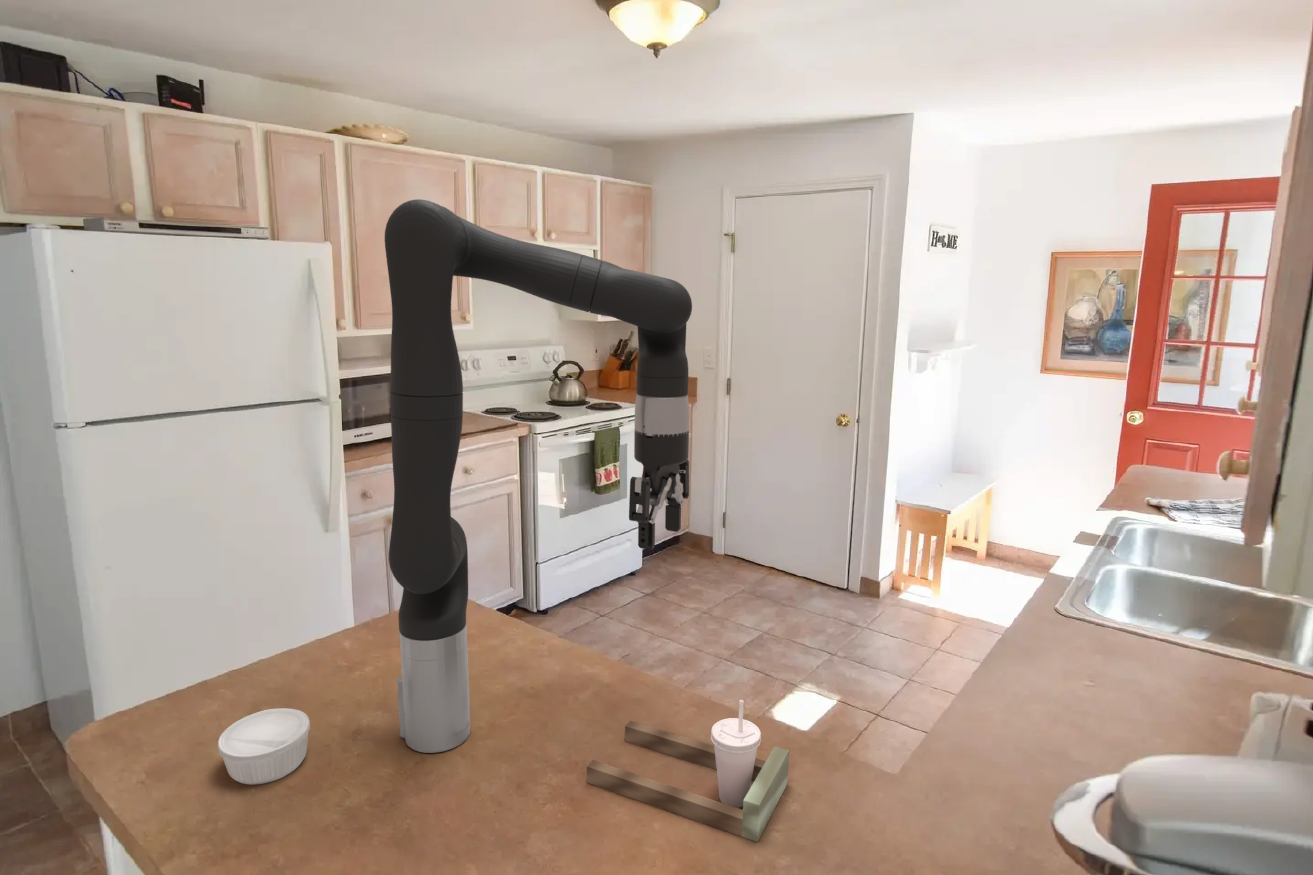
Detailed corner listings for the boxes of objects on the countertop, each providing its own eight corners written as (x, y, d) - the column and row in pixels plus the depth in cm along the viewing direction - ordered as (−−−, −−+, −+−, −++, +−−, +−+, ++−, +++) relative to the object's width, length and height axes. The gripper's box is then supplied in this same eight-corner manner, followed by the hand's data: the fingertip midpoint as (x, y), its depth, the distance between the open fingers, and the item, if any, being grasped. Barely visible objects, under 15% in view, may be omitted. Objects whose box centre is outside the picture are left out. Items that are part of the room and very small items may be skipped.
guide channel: (586, 782, 102) (586, 748, 101) (630, 735, 112) (630, 704, 111) (757, 841, 91) (759, 805, 90) (787, 783, 102) (789, 750, 101)
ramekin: (219, 800, 97) (215, 764, 96) (222, 753, 107) (219, 719, 106) (315, 776, 102) (312, 741, 101) (309, 732, 112) (307, 700, 111)
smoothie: (756, 818, 95) (760, 717, 93) (706, 811, 97) (708, 711, 94) (759, 785, 101) (764, 690, 99) (712, 779, 103) (714, 684, 100)
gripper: (660, 416, 112) (658, 521, 115) (612, 432, 100) (612, 550, 103) (707, 421, 109) (704, 529, 112) (663, 438, 96) (661, 559, 100)
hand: (660, 539), depth 108 cm, fingers open, 8 cm apart
